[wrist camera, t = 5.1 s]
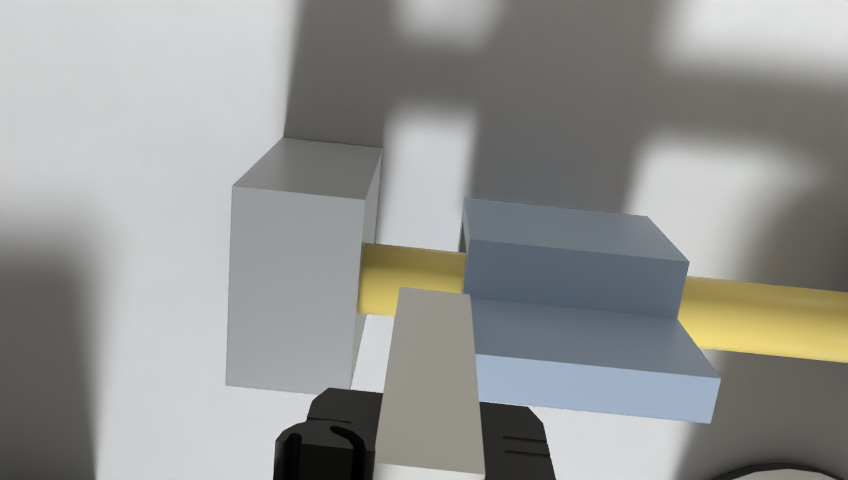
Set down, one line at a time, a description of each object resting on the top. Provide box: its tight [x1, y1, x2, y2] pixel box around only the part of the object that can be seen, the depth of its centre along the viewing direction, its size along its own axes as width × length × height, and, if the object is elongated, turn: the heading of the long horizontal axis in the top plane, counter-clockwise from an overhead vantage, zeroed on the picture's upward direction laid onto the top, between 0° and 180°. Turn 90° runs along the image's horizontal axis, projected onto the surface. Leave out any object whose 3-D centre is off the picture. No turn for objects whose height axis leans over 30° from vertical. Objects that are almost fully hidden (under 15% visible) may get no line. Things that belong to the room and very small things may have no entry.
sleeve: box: [458, 197, 721, 424], centre depth 19 cm, size 5×4×7 cm
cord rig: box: [226, 138, 848, 395], centre depth 21 cm, size 22×5×7 cm, turn 84°
